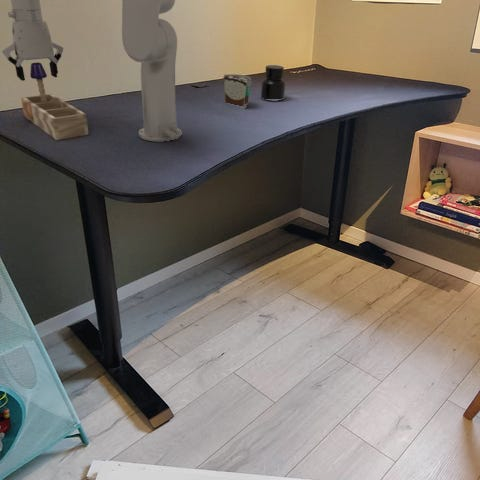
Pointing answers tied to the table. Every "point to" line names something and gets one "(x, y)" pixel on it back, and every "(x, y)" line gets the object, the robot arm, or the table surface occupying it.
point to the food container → (237, 89)
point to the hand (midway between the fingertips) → (38, 78)
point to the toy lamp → (39, 78)
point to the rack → (55, 116)
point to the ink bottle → (273, 83)
